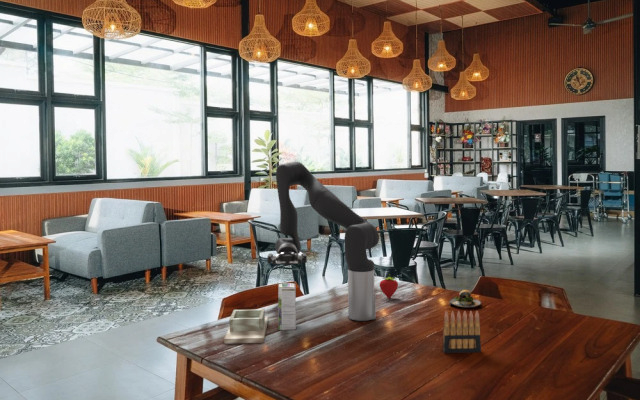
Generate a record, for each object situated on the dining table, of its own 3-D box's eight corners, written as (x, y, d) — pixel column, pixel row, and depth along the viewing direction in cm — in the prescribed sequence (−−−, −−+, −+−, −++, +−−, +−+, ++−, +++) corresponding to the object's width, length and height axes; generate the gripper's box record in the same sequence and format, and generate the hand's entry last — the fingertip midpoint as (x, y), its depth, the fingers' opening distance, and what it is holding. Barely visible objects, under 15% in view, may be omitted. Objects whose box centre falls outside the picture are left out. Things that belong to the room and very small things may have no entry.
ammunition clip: (479, 350, 152) (479, 309, 151) (481, 352, 150) (481, 311, 150) (442, 350, 152) (442, 310, 151) (443, 352, 151) (444, 312, 150)
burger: (444, 307, 197) (444, 288, 196) (454, 300, 207) (454, 281, 206) (476, 312, 191) (477, 292, 190) (485, 304, 201) (485, 285, 200)
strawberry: (377, 296, 213) (377, 272, 213) (396, 295, 214) (395, 271, 213) (381, 300, 207) (381, 275, 207) (399, 299, 208) (399, 274, 208)
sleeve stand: (267, 320, 183) (267, 305, 183) (263, 342, 161) (263, 325, 161) (233, 321, 183) (233, 306, 182) (224, 343, 161) (223, 326, 160)
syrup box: (278, 325, 178) (277, 283, 177) (295, 324, 179) (295, 282, 178) (278, 330, 172) (277, 287, 171) (296, 329, 173) (295, 286, 172)
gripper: (268, 244, 200) (266, 252, 184) (306, 243, 201) (306, 251, 185) (269, 263, 201) (266, 273, 185) (306, 263, 202) (307, 272, 185)
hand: (286, 262), depth 185 cm, fingers open, 8 cm apart
